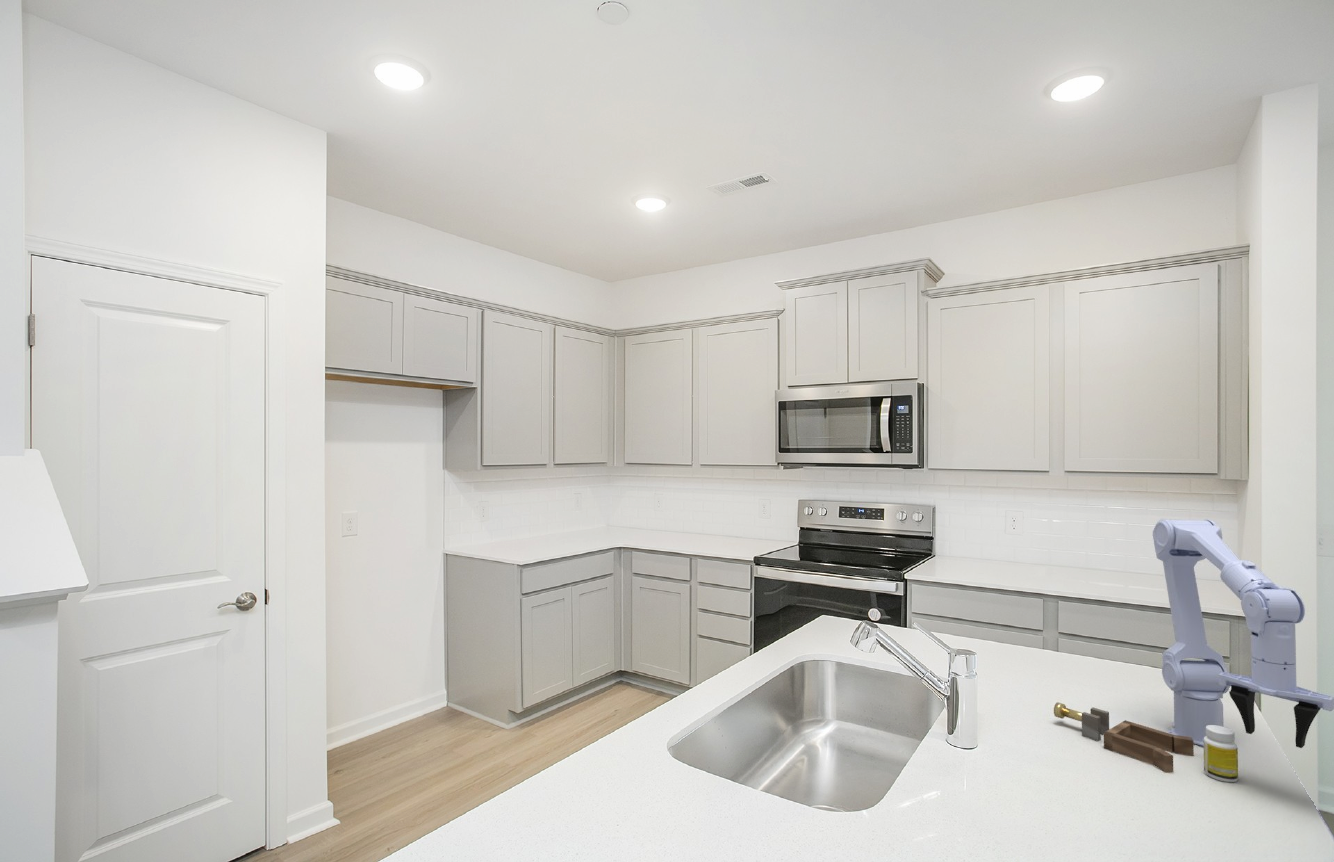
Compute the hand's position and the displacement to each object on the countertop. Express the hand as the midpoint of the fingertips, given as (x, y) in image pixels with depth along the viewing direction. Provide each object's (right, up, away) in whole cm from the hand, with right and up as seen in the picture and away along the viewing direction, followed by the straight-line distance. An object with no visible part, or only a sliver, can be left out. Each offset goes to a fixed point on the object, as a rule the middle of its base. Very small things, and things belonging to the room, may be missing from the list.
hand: (1274, 739), depth 114 cm
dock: (-12, -10, +17) cm, 23 cm away
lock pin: (-18, -9, +26) cm, 33 cm away
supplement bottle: (-4, -10, +6) cm, 12 cm away
